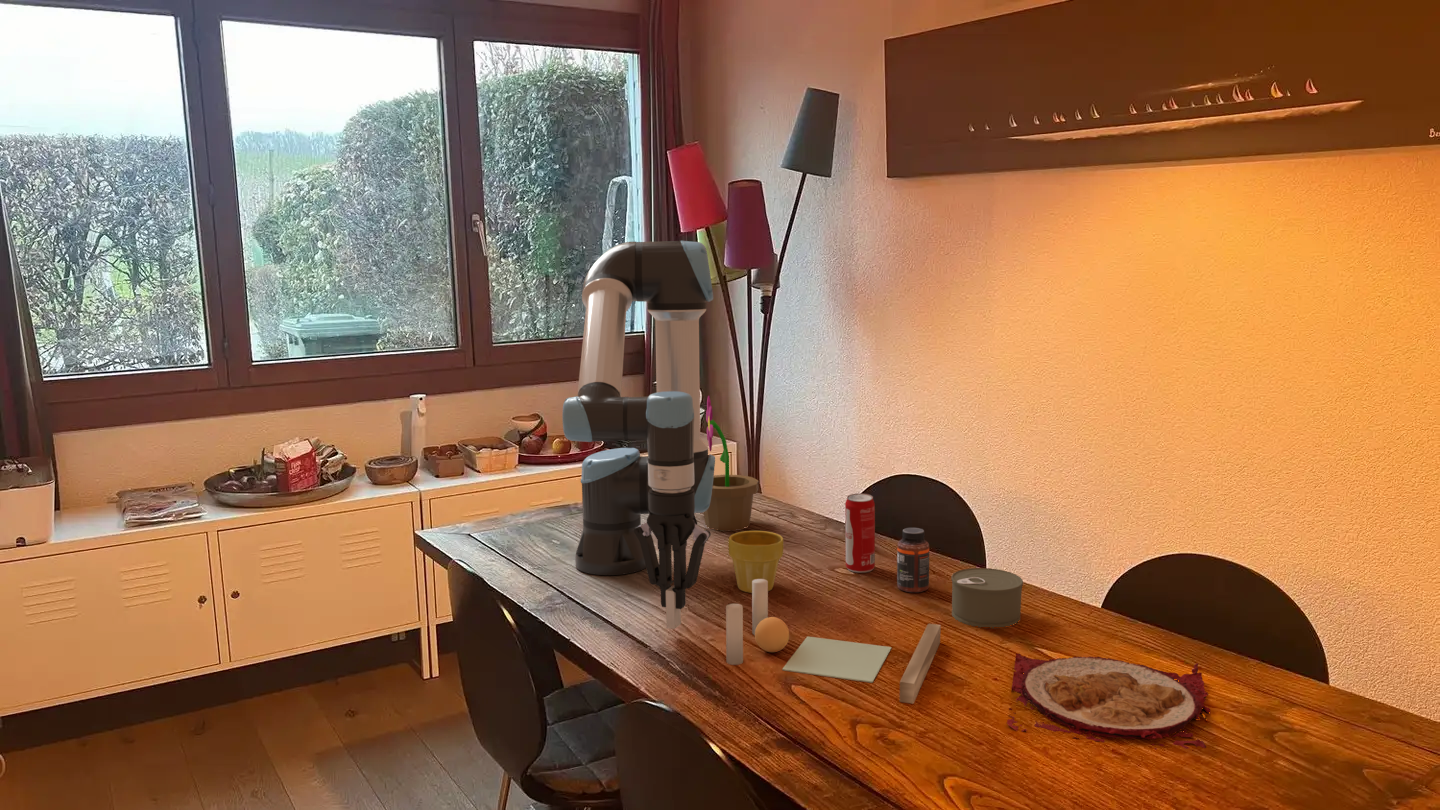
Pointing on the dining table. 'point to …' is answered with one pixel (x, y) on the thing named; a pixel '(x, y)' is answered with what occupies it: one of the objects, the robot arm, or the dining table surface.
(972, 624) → the can
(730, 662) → the post
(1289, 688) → the dining table surface
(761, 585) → the post
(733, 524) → the flowerpot
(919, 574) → the supplement bottle
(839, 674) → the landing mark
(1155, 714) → the plate with food
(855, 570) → the beverage can
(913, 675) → the wall
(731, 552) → the plant pot
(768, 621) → the ball
